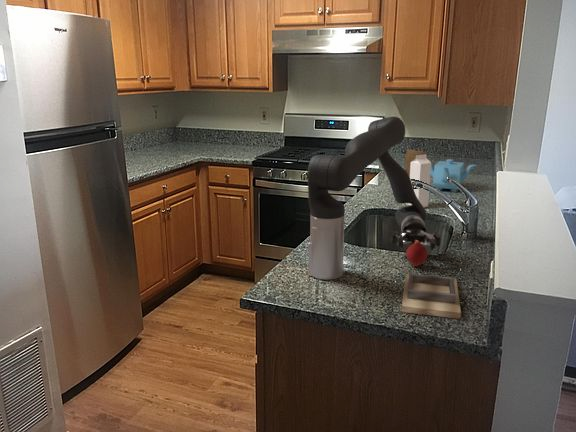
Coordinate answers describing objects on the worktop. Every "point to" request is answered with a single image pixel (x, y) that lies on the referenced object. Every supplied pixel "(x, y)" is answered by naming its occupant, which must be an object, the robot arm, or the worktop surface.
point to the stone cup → (411, 158)
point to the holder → (431, 296)
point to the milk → (421, 177)
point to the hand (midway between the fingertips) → (416, 245)
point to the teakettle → (449, 174)
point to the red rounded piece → (416, 253)
